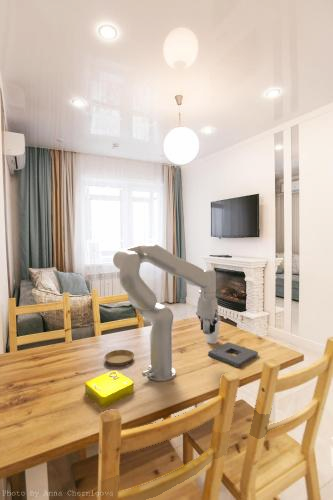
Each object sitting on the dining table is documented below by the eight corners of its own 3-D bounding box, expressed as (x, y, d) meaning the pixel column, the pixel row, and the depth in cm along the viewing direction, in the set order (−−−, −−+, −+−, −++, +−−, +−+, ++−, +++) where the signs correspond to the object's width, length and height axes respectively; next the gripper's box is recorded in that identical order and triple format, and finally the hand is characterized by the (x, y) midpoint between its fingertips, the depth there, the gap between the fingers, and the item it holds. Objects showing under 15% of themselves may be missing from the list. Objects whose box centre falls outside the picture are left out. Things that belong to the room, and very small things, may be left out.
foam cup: (221, 344, 150) (221, 322, 150) (204, 344, 151) (204, 322, 150) (218, 338, 160) (218, 317, 159) (202, 338, 160) (202, 317, 159)
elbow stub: (208, 335, 128) (208, 319, 127) (200, 332, 132) (200, 316, 131) (215, 332, 131) (215, 316, 131) (206, 329, 135) (207, 314, 135)
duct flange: (238, 367, 124) (238, 363, 124) (208, 355, 137) (208, 351, 137) (257, 355, 136) (257, 351, 136) (228, 345, 149) (228, 342, 149)
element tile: (83, 392, 106) (83, 381, 106) (115, 378, 117) (115, 367, 116) (102, 410, 95) (102, 397, 95) (135, 392, 106) (135, 381, 106)
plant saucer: (118, 352, 143) (118, 347, 143) (140, 358, 136) (139, 353, 135) (98, 363, 130) (97, 358, 130) (121, 371, 123) (120, 365, 123)
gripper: (190, 293, 134) (190, 328, 135) (217, 298, 122) (217, 337, 123) (199, 291, 139) (199, 325, 140) (226, 296, 127) (226, 333, 128)
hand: (207, 330), depth 131 cm, fingers closed on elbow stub, 5 cm apart
